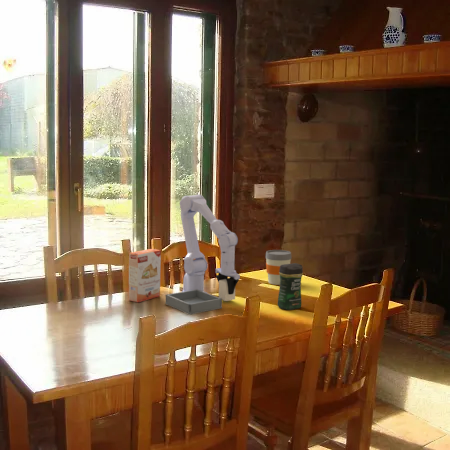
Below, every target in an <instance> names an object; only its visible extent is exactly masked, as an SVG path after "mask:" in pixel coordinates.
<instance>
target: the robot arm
mask: <svg viewBox="0 0 450 450" xmlns="http://www.w3.org/2000/svg"><path fill="white" fill-rule="evenodd" d="M179 206H180V219H181V225H182V230H183V234H184V240H185V247H186V252H187V254H186V255H185V257H184V258H183V261H184V262H183V263H184V264H183V268H184V276H183V283H182V285H183V287H182V290H181V292H185V291H190V290H196V289H197V290H200V291H203V292H205V293H208V292H207V291H205V289H204V288H205V286H204V285H205V283H204V281H205V280H204V279H205V277H204V276H205V274H206V271H207V270H208V268H209V266H208V261H207V259H206V258H205V254H204V253H203V252H201V251H200V246H199V240H198V234H197V228H196V225H195V224H196V222H195V218H194V217H195V215H196V214H197V213H200V214H201V216H202V217H203V218H204V220H206V221H207V222H208V223H209V224H210V225H209V227H210V230H211V231H212V232H213V234H214V235H215V236H216V238H217V239H218V244H219V247H220V248H219V249H220V267H219V268H218V267H217V268H215V278H216V280H217V282H218V283H219V280H224V279H226V281H227V284H228V294H233V293H234V289H235V290H236V286H237V285H238V282H239V280H240V279H241V277H240V276H241V275H240V274H239V273H237V270H235V260H236V259H235V256H236V255H235V254H236V253H235V251H236V246H237V245H238V242H239V238H238V236H237V234H236V233H235V232H232V231H231V230H230V229H228V227H227V226H226V225H225V223H224V221H223V220H221V219H217V217H216V216H215V215H214V213H213V212H212V210H211V208H209V206H208V205H207V199H206V198H205V197H204V196H203V195H202V194H193V195H183V196H182V197H181V199H180V201H179Z"/></svg>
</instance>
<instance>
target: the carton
mask: <svg viewBox="0 0 450 450" xmlns="http://www.w3.org/2000/svg"><path fill="white" fill-rule="evenodd" d="M218 297H219V298H222V301H224V302H229V301H233V300H236V288H235V289H234V293H233V294H228V284H227V281H226V279H224V280H219V282H218Z"/></svg>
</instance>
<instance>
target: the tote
mask: <svg viewBox="0 0 450 450" xmlns="http://www.w3.org/2000/svg"><path fill="white" fill-rule="evenodd" d="M205 292H206V291H204V292H203V291H200V290H197V289H196V290H190V291H185V292H182V291H179V292H173V293H167V294H165V305H167V306H169V307H171V308H173V309H176V310H178V311H180V312H183V313H185V314H187V315H194V314H199V313H204V312H209V311H215V310H218V309H219V310H220V309H223V300H222V298H219V296H216V295H213V294H210V293H208V292H207V293H205Z"/></svg>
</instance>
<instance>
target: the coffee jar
mask: <svg viewBox="0 0 450 450" xmlns="http://www.w3.org/2000/svg"><path fill="white" fill-rule="evenodd" d="M279 275H280V285H279V289H278V297H277V307H278V308H279V309H281V310H288V311H289V310H290V311H291V310H297V309H301V307H302V286H301V285H302V277H303V275H304V272H303V265H302V264H299V263H290V264H284V265H281V266H280V270H279Z"/></svg>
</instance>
